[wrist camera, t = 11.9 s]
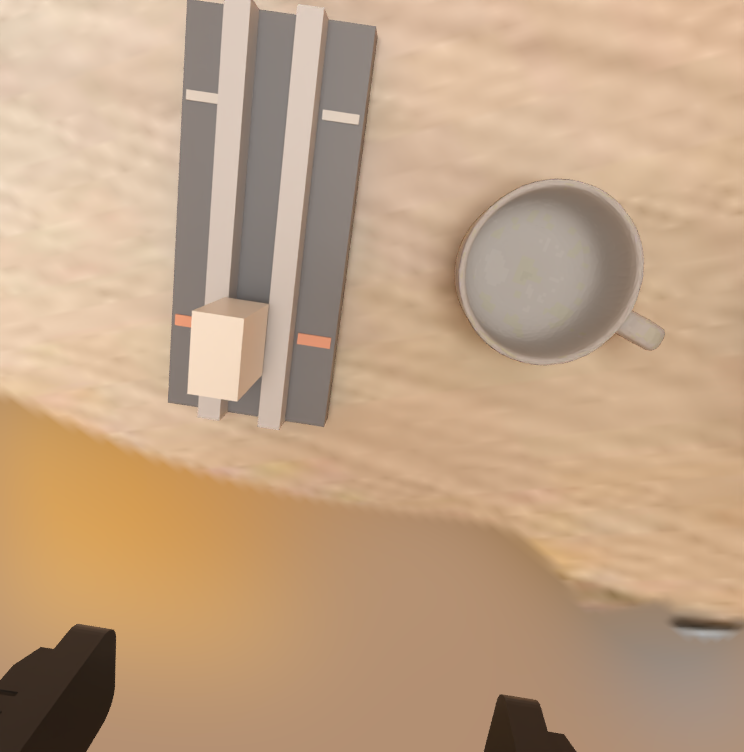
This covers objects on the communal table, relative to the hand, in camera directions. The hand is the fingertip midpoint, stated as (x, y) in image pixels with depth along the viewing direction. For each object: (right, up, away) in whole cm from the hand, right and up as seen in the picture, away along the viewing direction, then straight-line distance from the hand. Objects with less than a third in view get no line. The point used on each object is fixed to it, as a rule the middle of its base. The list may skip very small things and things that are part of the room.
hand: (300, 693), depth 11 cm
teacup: (+14, +13, +29) cm, 35 cm away
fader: (-7, +10, +29) cm, 31 cm away
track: (-6, +17, +29) cm, 34 cm away
